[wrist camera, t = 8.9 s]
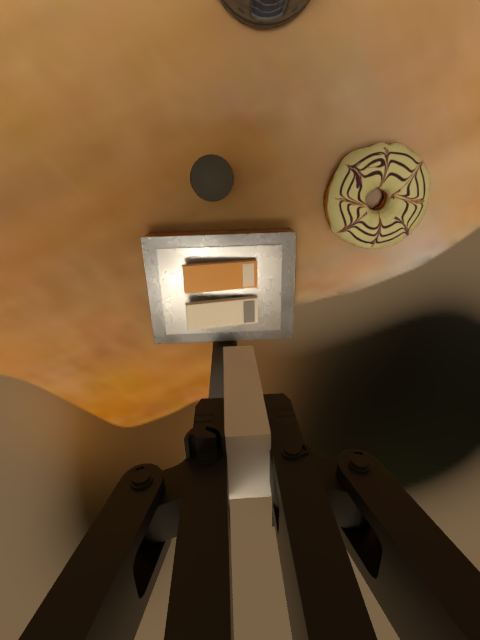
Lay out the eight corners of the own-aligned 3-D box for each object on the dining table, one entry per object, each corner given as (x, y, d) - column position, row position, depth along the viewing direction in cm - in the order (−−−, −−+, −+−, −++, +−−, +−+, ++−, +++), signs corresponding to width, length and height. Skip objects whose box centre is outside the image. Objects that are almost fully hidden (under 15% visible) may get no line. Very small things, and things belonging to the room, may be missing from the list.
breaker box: (161, 330, 42) (153, 347, 38) (149, 232, 38) (138, 238, 33) (288, 325, 42) (295, 340, 38) (290, 228, 38) (299, 233, 34)
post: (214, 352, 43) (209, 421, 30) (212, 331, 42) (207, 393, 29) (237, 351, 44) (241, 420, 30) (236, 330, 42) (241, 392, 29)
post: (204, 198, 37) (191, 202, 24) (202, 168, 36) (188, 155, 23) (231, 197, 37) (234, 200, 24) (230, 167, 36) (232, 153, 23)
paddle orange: (184, 291, 34) (185, 294, 33) (181, 264, 33) (182, 266, 32) (254, 284, 36) (257, 287, 35) (254, 259, 35) (257, 261, 34)
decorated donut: (326, 145, 36) (337, 140, 32) (424, 147, 36) (446, 142, 32) (317, 244, 39) (326, 249, 36) (406, 245, 40) (423, 250, 36)
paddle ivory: (187, 327, 36) (188, 331, 35) (185, 302, 35) (186, 305, 34) (255, 319, 37) (258, 323, 36) (255, 295, 36) (258, 298, 35)
